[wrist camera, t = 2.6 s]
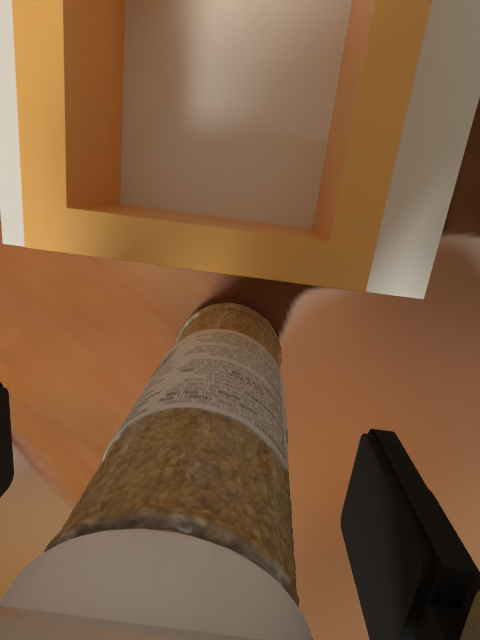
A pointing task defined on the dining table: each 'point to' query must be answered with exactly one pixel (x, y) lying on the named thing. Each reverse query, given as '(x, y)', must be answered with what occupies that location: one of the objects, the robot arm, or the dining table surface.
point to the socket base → (239, 133)
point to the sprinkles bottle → (187, 498)
